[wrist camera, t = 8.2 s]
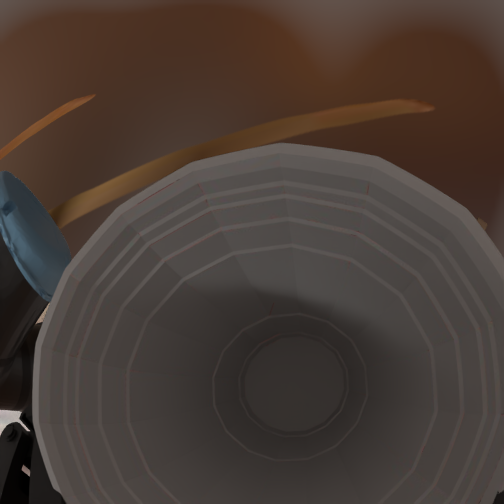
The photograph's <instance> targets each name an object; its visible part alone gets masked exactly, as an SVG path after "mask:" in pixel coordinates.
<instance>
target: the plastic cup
mask: <svg viewBox="0 0 504 504" xmlns="http://www.w3.org/2000/svg"><path fill="white" fill-rule="evenodd" d="M32 415H33V425H34V429H35V433H36V437H37V441H38V444H39V448H40V451H41V455H42V458H43V461H44V464H45V467H46V470H47V473H48V476H49V478H50V481H51V484H52V486H53V488H54V489H55V490H56V491H58V492H59V493H61V495H62V497H63V499H64V501H65V503H66V504H493V502H494V499H495V497H496V494H497V492H499V493H500V492H502V491H503V490H504V258H503V256H502V255H501V253H500V252H499V250H498V249H497V247H496V246H495V245H494V243H493V242H492V241H491V239H490V238H489V236H488V235H487V234H486V232H485V231H484V229H483V228H482V227H481V226H480V224H479V223H478V222H477V220H476V219H475V218H474V217H473V215H472V214H471V213H470V212H469V210H468V209H467V208H465V207H464V206H462V205H461V204H459V203H458V202H456V201H455V200H453V199H452V198H450V197H449V196H447V195H445V194H444V193H442V192H441V191H439V190H437V189H436V188H434V187H433V186H431V185H429V184H428V183H426V182H424V181H422V180H421V179H419V178H417V177H416V176H414V175H412V174H410V173H408V172H407V171H405V170H403V169H401V168H399V167H397V166H396V165H394V164H392V163H390V162H388V161H386V160H384V159H382V158H380V157H378V156H373V155H368V154H362V153H356V152H350V151H344V150H337V149H330V148H323V147H315V146H307V145H298V144H288V143H277V144H271V145H266V146H261V147H256V148H251V149H246V150H241V151H236V152H232V153H227V154H223V155H219V156H214V157H210V158H206V159H202V160H198V161H194V162H191V163H189V164H187V165H186V166H184V167H182V168H180V169H178V170H177V171H175V172H173V173H171V174H170V175H168V176H166V177H165V178H163V179H161V180H160V181H158V182H156V183H155V184H153V185H151V186H150V187H148V188H147V189H145V190H143V191H142V192H140V193H139V194H137V195H135V196H134V197H132V198H130V199H129V200H127V201H126V202H124V203H123V204H121V205H120V206H118V207H117V208H116V209H115V210H114V211H113V213H112V214H111V215H110V216H109V217H108V218H107V219H106V220H105V221H104V223H103V224H102V225H101V226H100V227H99V228H98V229H97V230H96V232H95V233H94V234H93V235H92V236H91V238H90V239H89V240H88V241H87V242H86V244H85V245H84V246H83V247H82V248H81V250H80V251H79V252H78V253H77V254H76V256H75V257H74V258H73V259H72V261H71V262H70V263H69V264H68V266H67V267H66V268H65V270H64V272H63V274H62V277H61V279H60V281H59V283H58V286H57V288H56V290H55V293H54V295H53V298H52V300H51V302H50V305H49V307H48V310H47V313H46V315H45V318H44V321H43V323H42V326H41V329H40V332H39V335H38V338H37V341H36V345H35V356H34V369H33V391H32Z"/></svg>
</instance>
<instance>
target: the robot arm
mask: <svg viewBox="0 0 504 504" xmlns="http://www.w3.org/2000/svg"><path fill="white" fill-rule="evenodd" d="M70 262H71V254H70V250H69V247H68V245H67V242H66V240H65V239H64V237H63V235H62V233H61V231H60V230H59V228H58V226H57V225H56V223H55V222H54V220H53V219H52V218H51V216H50V215H49V213H48V212H47V211H46V209H45V208H44V207H43V206H42V204H41V203H40V202H39V201H38V199H37V198H36V197H35V196H34V195H33V193H32V192H31V191H30V190H29V189H28V188H27V187H26V185H25V184H24V183H23V182H22V181H21V180H19V179H18V178H15V176H14V175H13V174H12V173H10V172H8V171H2V172H0V410H11V411H20V412H22V413H21V415H20V418H19V419H20V420H21V421H22V422H23V424H24V425H25V426H26V427H27V428H28V429H29V430H30V431H26V429H25V428H24V427H23V426H22V425H21V424H20V423H18V422H13V423H10V424H8V425H7V426H6V427H5V428H4V430H3V432H2V433H1V436H0V504H66V503H65V501H64V499H63V497H62V495H61V493H59V492H58V491H56V490H55V489H54V488H53V486H52V484H51V481H50V478H49V476H48V473H47V470H46V467H45V464H44V461H43V458H42V455H41V451H40V448H39V444H38V441H37V437H36V433H35V429H34V425H33V415H32V391H33V369H34V356H35V345H36V341H37V338H38V335H39V332H40V329H41V326H42V323H43V322H41V323H37V324H35V323H36V322H37V320H38V319H39V317H40V316H41V314H42V313H43V311H44V310H45V308H46V307H47V305H48V304H49V302H51V300H52V298H53V295H54V293H55V290H56V288H57V286H58V283H59V281H60V279H61V277H62V274H63V272H64V270H65V268H66V267H67V266H68V264H69V263H70ZM23 465H24V466H26V467H27V468H28V469H29V470H30V477H29V476H28V475H27V474H26V473H24V472H23V471H22V466H23ZM493 504H504V490H503V491H502V492H500V493H499V492H497V494H496V497H495V499H494V502H493Z"/></svg>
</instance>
